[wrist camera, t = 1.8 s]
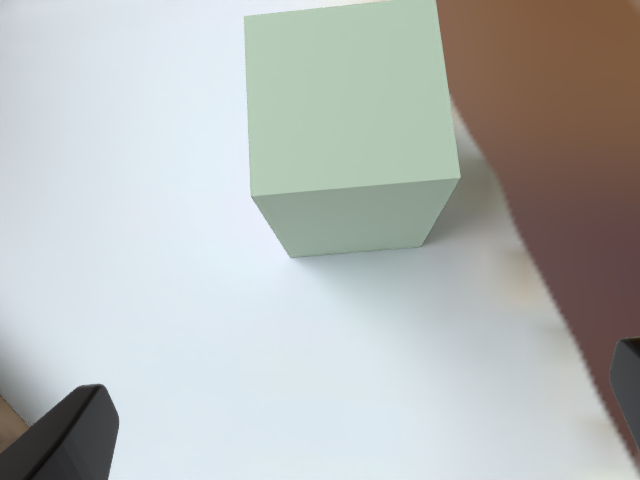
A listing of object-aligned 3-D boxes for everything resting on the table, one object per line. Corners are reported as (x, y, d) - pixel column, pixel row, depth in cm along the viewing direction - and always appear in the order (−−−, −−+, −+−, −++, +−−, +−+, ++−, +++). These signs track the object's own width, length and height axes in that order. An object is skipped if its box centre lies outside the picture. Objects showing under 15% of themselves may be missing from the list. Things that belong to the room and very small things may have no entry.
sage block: (420, 247, 23) (460, 177, 14) (290, 257, 23) (250, 195, 15) (406, 126, 24) (434, -4, 16) (283, 138, 25) (243, 16, 16)
